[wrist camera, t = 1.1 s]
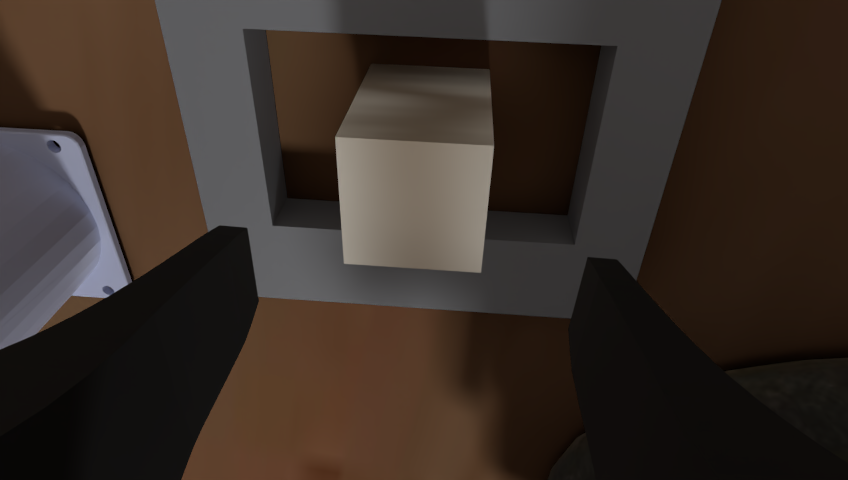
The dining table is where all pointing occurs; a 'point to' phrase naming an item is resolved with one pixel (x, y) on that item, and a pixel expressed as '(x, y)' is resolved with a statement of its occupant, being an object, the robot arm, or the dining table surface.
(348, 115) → the cream block
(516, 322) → the dining table surface
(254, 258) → the holder plate
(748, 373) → the vessel
